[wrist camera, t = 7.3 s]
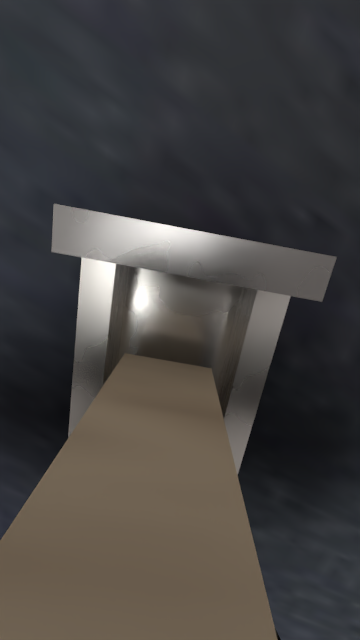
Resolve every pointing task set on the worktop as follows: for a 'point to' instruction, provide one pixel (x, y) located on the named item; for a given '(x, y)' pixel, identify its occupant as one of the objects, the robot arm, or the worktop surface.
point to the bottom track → (181, 305)
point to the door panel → (138, 523)
